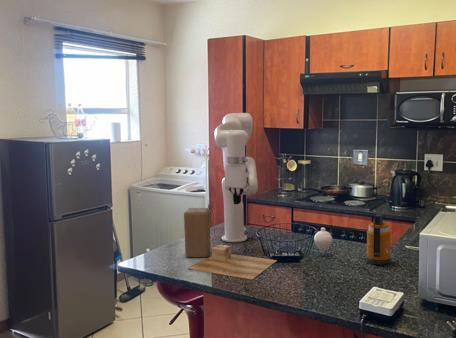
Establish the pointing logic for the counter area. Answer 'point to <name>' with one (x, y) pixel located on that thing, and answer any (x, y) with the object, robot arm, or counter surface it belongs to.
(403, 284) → the counter surface
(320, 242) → the spinning top
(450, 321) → the counter surface
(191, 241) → the block
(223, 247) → the oak cube
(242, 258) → the wooden board
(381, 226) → the amber tall bottle
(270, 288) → the counter surface
